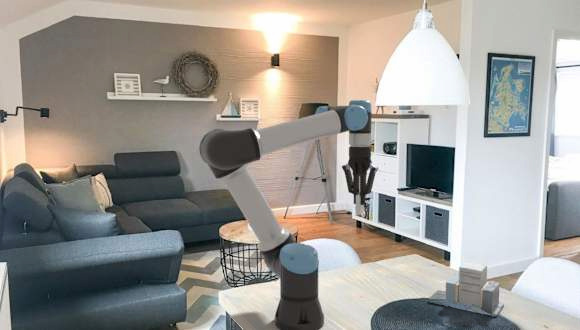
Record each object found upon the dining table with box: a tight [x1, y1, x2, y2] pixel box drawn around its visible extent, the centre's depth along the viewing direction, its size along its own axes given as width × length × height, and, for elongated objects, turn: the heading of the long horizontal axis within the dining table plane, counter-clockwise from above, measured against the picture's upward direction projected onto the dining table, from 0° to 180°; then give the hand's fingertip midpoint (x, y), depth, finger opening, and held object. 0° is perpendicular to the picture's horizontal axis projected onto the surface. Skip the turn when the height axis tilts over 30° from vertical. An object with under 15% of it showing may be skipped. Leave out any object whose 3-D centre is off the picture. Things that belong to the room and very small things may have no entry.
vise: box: [428, 280, 505, 316], centre depth 161 cm, size 11×22×8 cm, turn 55°
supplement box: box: [458, 261, 488, 308], centre depth 160 cm, size 7×7×13 cm
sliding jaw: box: [445, 273, 459, 304], centre depth 163 cm, size 10×4×7 cm, turn 145°
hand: (359, 213), depth 167 cm, fingers closed
